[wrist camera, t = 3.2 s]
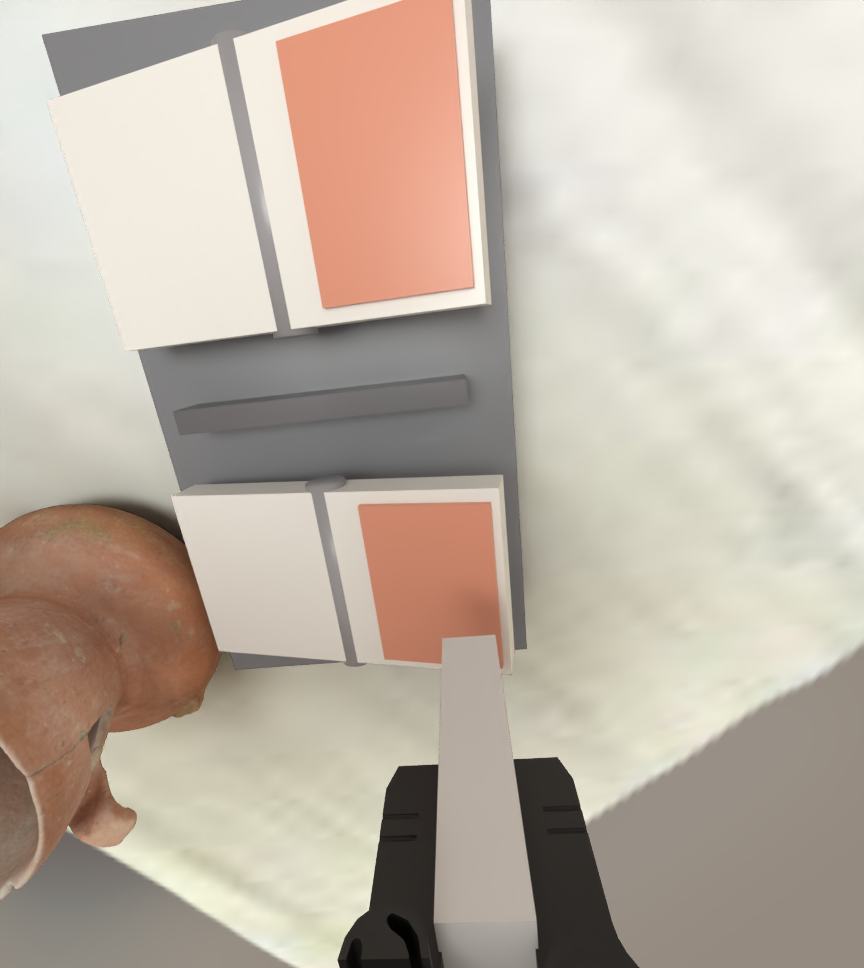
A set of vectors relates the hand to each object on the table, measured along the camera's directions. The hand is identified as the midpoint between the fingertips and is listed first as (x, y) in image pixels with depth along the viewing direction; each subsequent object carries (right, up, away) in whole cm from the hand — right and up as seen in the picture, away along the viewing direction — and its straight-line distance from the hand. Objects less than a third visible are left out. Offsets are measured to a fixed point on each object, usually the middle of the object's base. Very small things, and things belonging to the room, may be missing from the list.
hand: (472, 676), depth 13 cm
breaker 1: (-7, +15, +2) cm, 16 cm away
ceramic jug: (-21, -1, +17) cm, 27 cm away
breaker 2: (-5, +2, +6) cm, 8 cm away
